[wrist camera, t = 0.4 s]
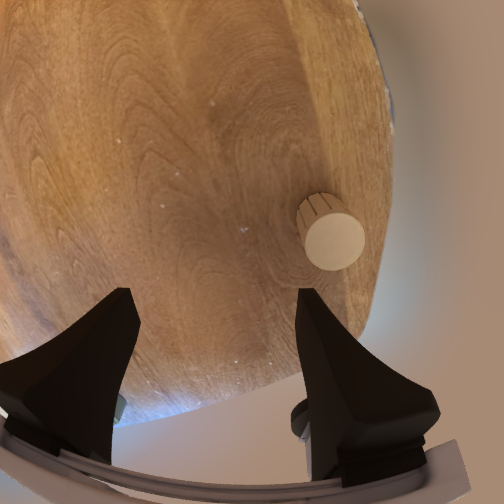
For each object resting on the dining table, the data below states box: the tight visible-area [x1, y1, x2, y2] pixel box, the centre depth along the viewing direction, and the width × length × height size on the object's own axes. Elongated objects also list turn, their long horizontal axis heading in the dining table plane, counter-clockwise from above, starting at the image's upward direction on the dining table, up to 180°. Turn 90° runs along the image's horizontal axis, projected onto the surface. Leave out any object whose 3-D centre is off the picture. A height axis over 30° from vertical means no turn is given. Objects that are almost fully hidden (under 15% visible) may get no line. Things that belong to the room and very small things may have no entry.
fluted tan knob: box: [296, 193, 365, 271], centre depth 18 cm, size 4×4×4 cm
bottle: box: [113, 395, 126, 426], centre depth 29 cm, size 3×3×6 cm
